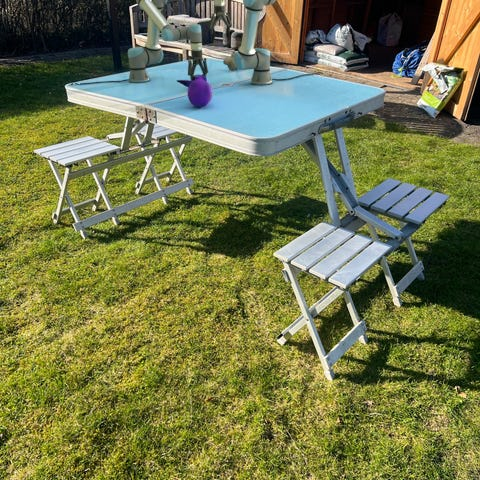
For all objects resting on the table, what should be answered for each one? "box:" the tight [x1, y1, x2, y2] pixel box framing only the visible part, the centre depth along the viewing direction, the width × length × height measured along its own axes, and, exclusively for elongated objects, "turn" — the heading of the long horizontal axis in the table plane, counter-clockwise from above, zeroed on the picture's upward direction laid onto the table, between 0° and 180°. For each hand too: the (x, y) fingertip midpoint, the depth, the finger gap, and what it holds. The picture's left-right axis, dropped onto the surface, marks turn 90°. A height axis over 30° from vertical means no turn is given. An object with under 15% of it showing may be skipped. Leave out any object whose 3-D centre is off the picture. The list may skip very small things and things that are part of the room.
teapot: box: [222, 50, 239, 72], centre depth 367 cm, size 21×12×15 cm, turn 120°
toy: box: [176, 74, 214, 108], centre depth 269 cm, size 16×18×27 cm
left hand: (198, 85), depth 312 cm, fingers open, 8 cm apart
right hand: (220, 37), depth 331 cm, fingers open, 13 cm apart
